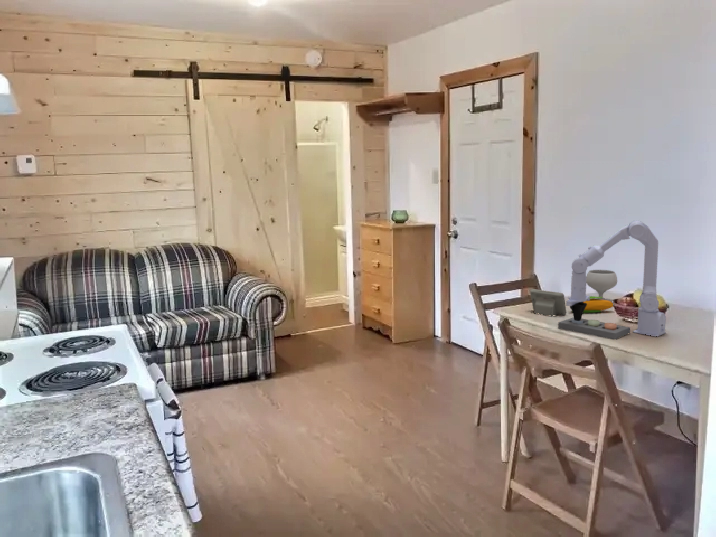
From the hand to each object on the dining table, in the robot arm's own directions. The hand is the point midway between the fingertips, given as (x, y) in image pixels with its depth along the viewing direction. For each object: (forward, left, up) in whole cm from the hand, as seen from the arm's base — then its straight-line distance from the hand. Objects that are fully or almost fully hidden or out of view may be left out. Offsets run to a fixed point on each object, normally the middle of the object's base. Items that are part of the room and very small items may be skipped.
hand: (577, 320), depth 252 cm
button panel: (-7, 0, -3) cm, 8 cm away
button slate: (0, 0, -2) cm, 2 cm away
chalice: (+16, -49, -3) cm, 52 cm away
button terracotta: (-14, 0, -1) cm, 14 cm away
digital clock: (+22, -13, -3) cm, 26 cm away
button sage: (-7, 0, -2) cm, 7 cm away
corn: (+9, -29, -3) cm, 30 cm away
